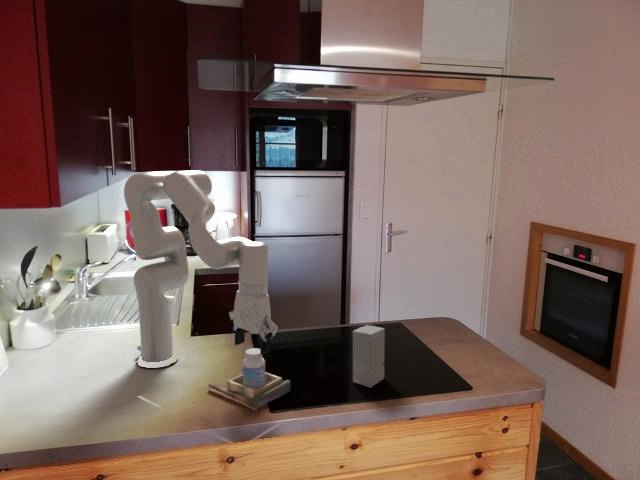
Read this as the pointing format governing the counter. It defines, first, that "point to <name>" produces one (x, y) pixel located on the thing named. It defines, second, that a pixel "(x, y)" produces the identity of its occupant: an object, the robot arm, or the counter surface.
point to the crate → (238, 387)
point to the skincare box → (368, 355)
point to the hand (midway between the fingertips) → (252, 348)
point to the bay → (257, 400)
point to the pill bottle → (253, 369)
